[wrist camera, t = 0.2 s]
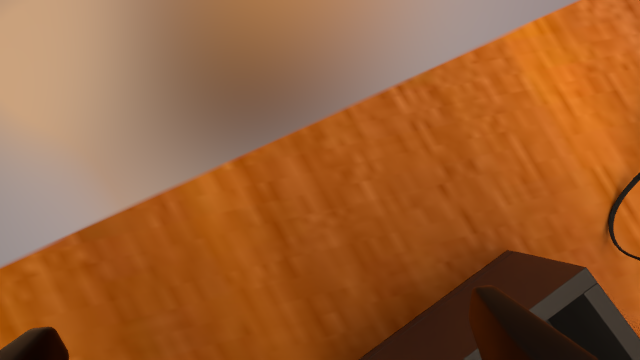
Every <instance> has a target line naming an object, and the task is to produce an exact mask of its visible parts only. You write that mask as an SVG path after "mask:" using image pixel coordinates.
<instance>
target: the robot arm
mask: <svg viewBox="0 0 640 360" xmlns="http://www.w3.org/2000/svg"><path fill="white" fill-rule="evenodd" d="M469 323H470V326H471V329H472V332H473V335H474V338H475V341H476V344H477V347H478V350H479V353H480V356H481V359H482V360H599V359H597V358H596V357H595V356H593V355H592V354H590V353H589V352H587V351H586V350H585V349H583V348H582V347H580V346H579V345H577V344H576V343H575V342H573V341H572V340H570V339H569V338H568V337H566V336H565V335H563V334H562V333H560V332H559V331H558V330H556V329H555V328H553V327H552V326H550V325H549V324H548V323H546V322H545V321H543V320H542V319H541V318H539V317H538V316H536V315H535V314H533V313H532V312H531V311H529V310H528V309H526V308H525V307H523V306H522V305H521V304H519V303H518V302H516V301H515V300H514V299H512V298H511V297H509V296H508V295H506V294H505V293H504V292H502V291H501V290H499V289H498V288H496V287H495V286H492V285H488V286H478V287H474V288H473V290H472V294H471V301H470V308H469ZM0 360H69V354H68V350H67V349H66V347H65V345H64V343H63V342H62V340H61V338H60V336H59V335H58V333H57V331H56V330H55V329H54V328H52V327H42V328H33V329H30V330H28V331H27V332H25V333H24V334H22V335H21V336H20V337H18V338H17V339H15V340H14V341H12V342H11V343H10V344H8V345H7V346H5V347H4V348H3V349H1V350H0Z"/></svg>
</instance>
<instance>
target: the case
mask: <svg viewBox="0 0 640 360" xmlns="http://www.w3.org/2000/svg"><path fill="white" fill-rule="evenodd" d="M488 285H492V286H495V287H496V288H498V289H499V290H501V291H502V292H504V293H505V294H506V295H508V296H509V297H511V298H512V299H514V300H515V301H516V302H518V303H519V304H521V305H522V306H523V307H525V308H526V309H528V310H529V311H531V312H532V313H533V314H535V315H536V316H538V317H539V318H541V319H542V320H543V321H545V322H546V323H548V324H549V325H550V326H552V327H553V328H555V329H556V330H558V331H559V332H560V333H562V334H563V335H565V336H566V337H568V338H569V339H570V340H572V341H573V342H575V343H576V344H577V345H579V346H580V347H582V348H583V349H585V350H586V351H587V352H589V353H590V354H592V355H593V356H595V357H596V358H597V359H599V360H640V339H639V337H638V336H637V335H636V333H635V332H634V331H633V329H632V328H631V327H630V325H629V324H628V323H627V321H626V320H625V319H624V317H623V316H622V315H621V313H620V312H619V311H618V309H617V308H616V307H615V305H614V304H613V303H612V301H611V300H610V299H609V297H608V296H607V295H606V293H605V292H604V290H603V289H602V288H601V286H600V285H599V284H598V283H597V281H596V280H595V278H594V277H593V276H592V274H591V273H590V272H589V270H588V269H587V268H586V267H582V266H577V265H573V264H569V263H564V262H560V261H555V260H551V259H546V258H542V257H537V256H533V255H529V254H524V253H520V252H514V251H509V250H507V251H506V252H505V253H503V254H502V255H501V256H499V257H498V258H496V259H495V260H494V261H492V262H491V263H490V264H488V265H487V266H486V267H484V268H483V269H482V270H480V271H479V272H477V273H476V274H475V275H473V276H472V277H471V278H469V279H468V280H467V281H465V282H464V283H462V284H461V285H460V286H458V287H457V288H456V289H454V290H453V291H452V292H450V293H449V294H448V295H446V296H445V297H443V298H442V299H441V300H439V301H438V302H437V303H435V304H434V305H433V306H431V307H430V308H428V309H427V310H426V311H424V312H423V313H422V314H420V315H419V316H418V317H416V318H415V319H414V320H412V321H411V322H409V323H408V324H407V325H405V326H404V327H403V328H401V329H400V330H399V331H397V332H396V333H395V334H393V335H392V336H390V337H389V338H388V339H386V340H385V341H384V342H382V343H381V344H380V345H378V346H377V347H375V348H374V349H373V350H371V351H370V352H369V353H367V354H366V355H365V356H363V357H362V358H361V359H359V360H482V359H481V356H480V353H479V350H478V347H477V344H476V341H475V338H474V335H473V332H472V329H471V326H470V323H469V308H470V301H471V294H472V290H473V288H474V287H478V286H488Z"/></svg>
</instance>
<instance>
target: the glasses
mask: <svg viewBox="0 0 640 360" xmlns="http://www.w3.org/2000/svg"><path fill="white" fill-rule="evenodd" d="M639 180H640V173H639V174H638V175H637V176H635V177H634V178H633V180H632V181H631V182H630V183H629V184H628V185H627V187H626V188H625V189H624V190H623V191H622V193H621V194H620V195H619V197H618V198H617V200H616V202H615V203H614V205H613V208H612V210H611V212H610V217H609V232H610V236H611V239H612V241H613V243H614V245H615V246H616V247H617V248H618V249H619V250H620V251H621V252H623V253H624V254H626V255H627V256H630V257H632V258H635V259H637V260H639V261H640V258H639V257H636V256H634V255H631V254H629V253H627V252H625V251H624V250H623V249H622V248H621V247H620V246H619V245H618V243H617V241H616V240H615V236H614V232H613V223H614V218H615V214H616V212H617V209H618V207H619V205H620V204H621V202H622V200H623V199H624V197H625V196H626V195H627V193H628V192H629V191H630V190H631V189H632V188H633V187H634V186H635V185H636V183H637V182H638V181H639Z"/></svg>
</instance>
